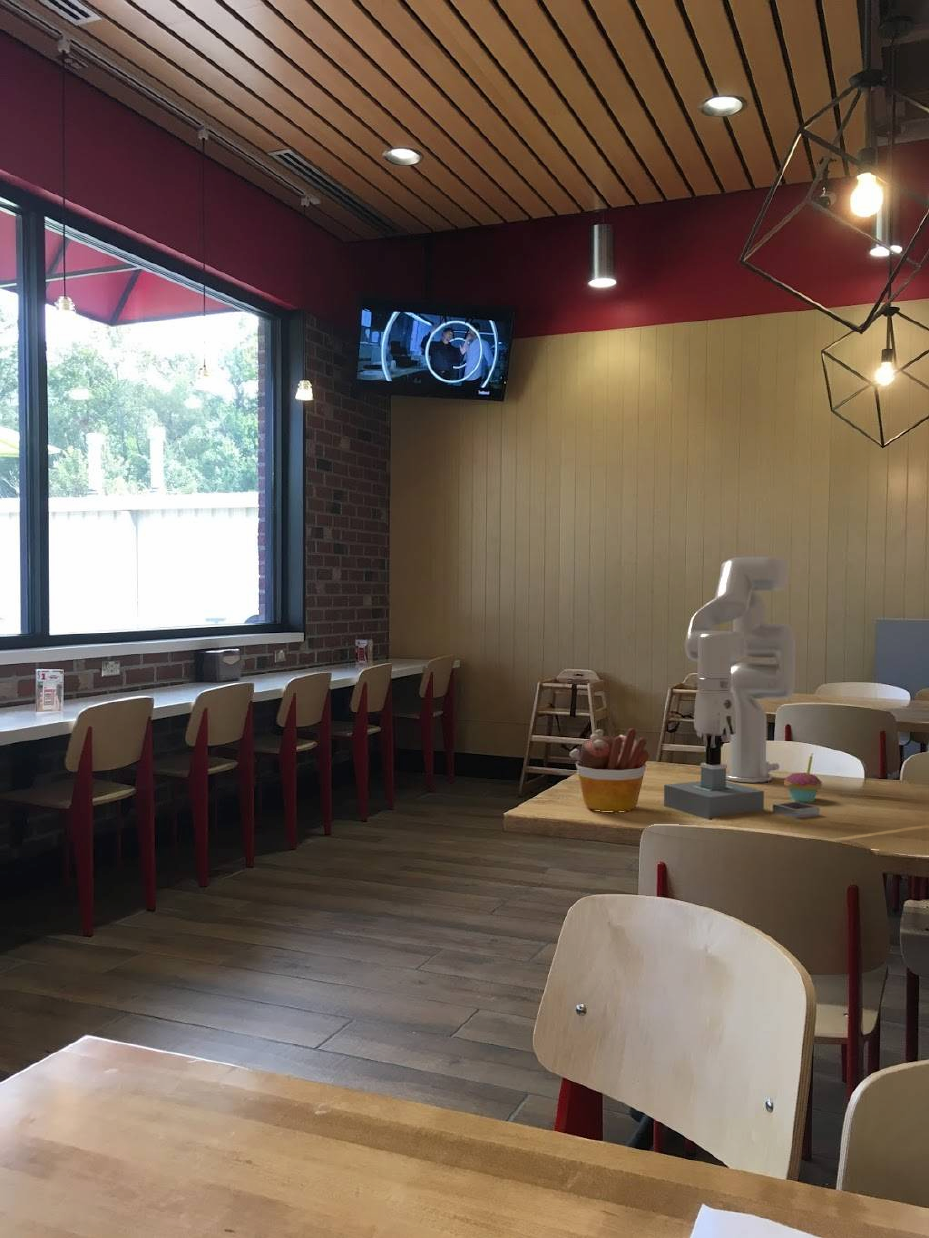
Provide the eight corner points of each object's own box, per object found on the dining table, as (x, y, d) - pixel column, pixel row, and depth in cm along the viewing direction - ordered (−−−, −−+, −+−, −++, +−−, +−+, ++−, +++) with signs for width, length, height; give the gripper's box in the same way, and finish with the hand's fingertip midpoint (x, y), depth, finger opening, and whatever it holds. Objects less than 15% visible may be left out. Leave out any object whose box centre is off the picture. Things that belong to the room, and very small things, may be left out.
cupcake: (821, 799, 244) (821, 751, 244) (821, 806, 236) (822, 756, 236) (784, 797, 247) (784, 749, 247) (783, 804, 239) (784, 754, 239)
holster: (796, 811, 231) (796, 801, 231) (819, 817, 224) (819, 807, 224) (772, 814, 228) (772, 804, 228) (795, 821, 221) (795, 810, 221)
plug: (714, 802, 236) (714, 761, 236) (726, 805, 232) (726, 764, 232) (700, 804, 234) (700, 763, 234) (712, 807, 230) (712, 766, 230)
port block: (717, 799, 244) (717, 778, 244) (763, 812, 230) (763, 790, 229) (664, 805, 237) (664, 783, 237) (708, 819, 222) (709, 796, 222)
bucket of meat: (560, 802, 240) (560, 720, 240) (620, 797, 246) (620, 717, 246) (601, 820, 221) (602, 731, 221) (665, 814, 228) (665, 727, 227)
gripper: (748, 687, 227) (748, 767, 228) (705, 682, 241) (704, 758, 241) (723, 688, 224) (722, 770, 224) (680, 683, 237) (680, 760, 238)
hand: (713, 763), depth 233 cm, fingers closed
